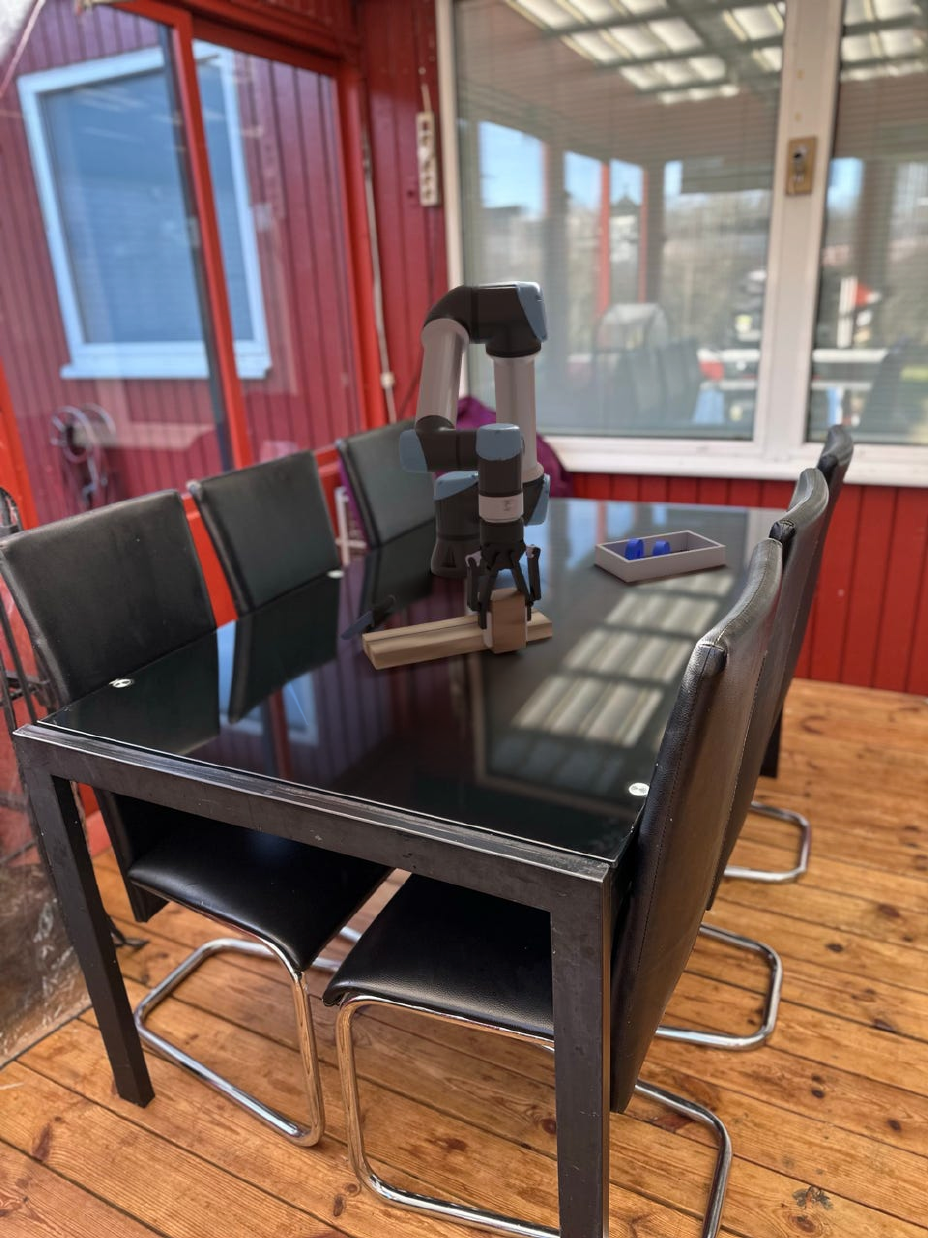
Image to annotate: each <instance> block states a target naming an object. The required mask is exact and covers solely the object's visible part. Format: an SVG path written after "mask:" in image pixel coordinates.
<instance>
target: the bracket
mask: <svg viewBox="0 0 928 1238" xmlns="http://www.w3.org/2000/svg"><path fill="white" fill-rule="evenodd" d="M629 539H630V540H629V541H628V543H627V546H626V550H625V559H627V560H629V561H630V560H636V559H642V558H645V557H644V545H643V541H642V540H641V539H635V538H634V537H633V538H629ZM667 554H671V552H670V544H669V542H663V541H657V542H656V544H655V546H654V549H653V553H652V556H651V557H654V556H661V555H667Z"/></svg>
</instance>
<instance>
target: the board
mask: <svg viewBox="0 0 928 1238" xmlns="http://www.w3.org/2000/svg"><path fill="white" fill-rule="evenodd" d="M531 616H532V618H531V621H528V622H527V638H528V641H527V642H530V641H536V640H541V639H547V638H550V637H553V622H552V621H551V620H550V619H549V618H548V617H546V616H545V615H544V614H543V613H541V612H540V611H539V610H537V609H536V608H535V607H534V606H532V607H531ZM361 639H362V648H363V651H364V653H365V654H366V656H367V657H368V659H369V660H370V661H371V663H372V664H373V666H374V668H375V669H376V670H381V669H387V668H388V669H389V668H392V667H399V666H404V665H409V664H415V663H421V662H424V661H429V660H435V659H436V660H437V659H439V658H446V657H452V656H457V655H462V654H467V653H472V652H477V651H483V650H490V648H489V647H488V646H487V645H486V644H485V643H484V639H483V630H482V629H481V628H480V627H479V626H478V613H476V614H472V615H471V614H470V615H465V616H460V617H459V616H458V617H455V618H454V617H453V618H448V619H443V620H438V621H437V620H436V621H431V622H425V623H420V624H419V623H418V624H414V625H408V626H403V627H397V628H390V629H385V630H380V631H379V630H378V631H375V632H374V631H373V632H368V633H362V634H361Z"/></svg>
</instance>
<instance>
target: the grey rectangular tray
mask: <svg viewBox="0 0 928 1238" xmlns="http://www.w3.org/2000/svg"><path fill="white" fill-rule="evenodd" d="M630 539H631V538H628V539H623V540H618V541H612V542H611V541H610V542H604V543H599V544H594V564H596V565H597V566H598V567H601V569H604V570H606V571H607V572H609V573H610V574H613V575H614V576H616V577H617V578H619V579H621V580H622V581H623V582H626V583H630V582H631V583H632V582H635V581H636V582H637V581H642V580H643V581H644V580H648V579H649V580H650V579H653V578H659V577H664V576H665V575H666V576H670V574H671V575H675V573H676V574H682V573H685V572H690V571H691V572H692V571H696V570H702V569H707V568H713V567H717V566H722V565H725V564H726V555H727V552H726V551H727V550H726V549H727V546H726V545H725V544H722V543H720V542H717V541H715V540H712V539H710V538H708V537H706V536H703V535H701V534H698V533H696V532H694V531H691V530H689V529H686V530H682V531H681V530H680V531H673V532H668V533H667V532H666V533H662V534H661V533H660V534H655V535H648V536H642V537H636V538H634V539H641V540H642V541H643V545H644V557H643V558H642V559H636V560H630V561H629V560H627V559H625V550H626V546H627V543H628V541H629V540H630ZM657 541H663V542H669V544H670V554H667V555H661V556H654V557H652V553H653V549H654V546H655V544H656V542H657ZM686 549H687V550H686ZM681 550H682V551H681ZM688 550H689V551H688ZM666 576H665V577H666Z"/></svg>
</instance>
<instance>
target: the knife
mask: <svg viewBox="0 0 928 1238" xmlns="http://www.w3.org/2000/svg"><path fill="white" fill-rule="evenodd" d="M395 604H396V598H395V595H392V594H389V595H388V596H387V597H386V598H384V599H382V600H380V601H378V602H376V603H375V604H374V603H373V602H371V603H369V611H367V612H366V613H365V614H364V615H362V616H361V617H360V618H358V619H357V620H355V621H354V622H353V623H352V624H351V625H350V626H349V627H348V628H347V629H346V630H344V632H343V633H341V634H339V636H340V637H341V639H342V640H344V641H347V640H351V639H352V638H353V637H355V636H356V635H357V634H359V633H360V631H362V630H363V629H364V628H366V627H367V626H368V625H370V626H371V628H375V626H376V624H375V621H376V620H377V619H378V618H380V617H381V616H384V615H385V614H386V613H387V611H389V610H390V608H391V607H393V606H395Z"/></svg>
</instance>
